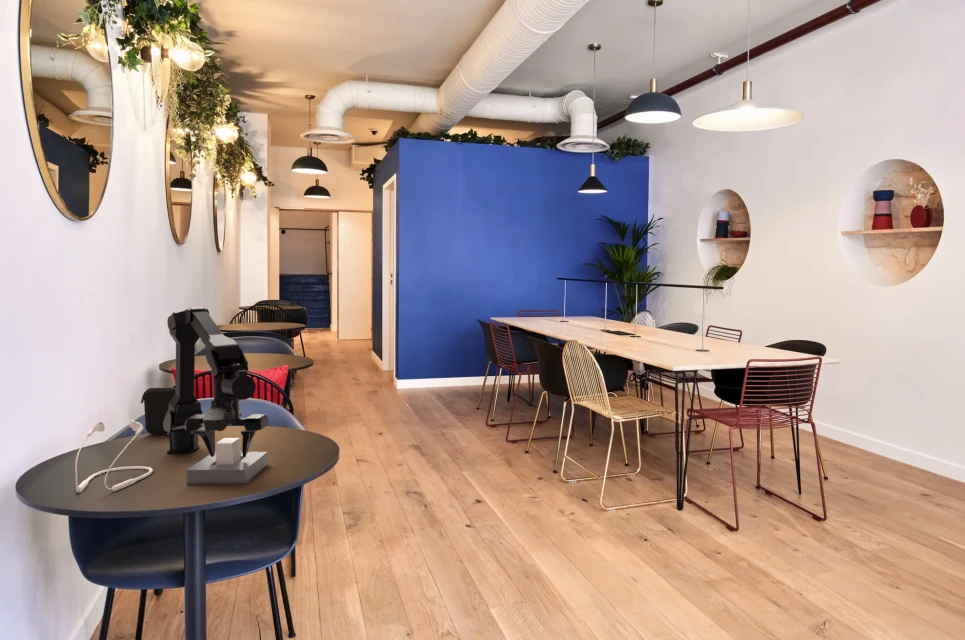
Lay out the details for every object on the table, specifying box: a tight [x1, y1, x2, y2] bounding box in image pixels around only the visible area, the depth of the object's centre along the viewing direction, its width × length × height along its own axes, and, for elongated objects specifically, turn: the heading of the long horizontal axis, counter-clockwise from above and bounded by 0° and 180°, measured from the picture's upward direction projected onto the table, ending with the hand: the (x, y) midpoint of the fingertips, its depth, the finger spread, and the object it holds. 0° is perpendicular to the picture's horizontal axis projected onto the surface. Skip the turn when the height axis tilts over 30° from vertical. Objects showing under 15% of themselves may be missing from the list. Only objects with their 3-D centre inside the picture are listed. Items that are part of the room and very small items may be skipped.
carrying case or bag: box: [140, 386, 175, 435], centre depth 197 cm, size 11×3×15 cm, turn 96°
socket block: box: [185, 451, 269, 485], centre depth 157 cm, size 14×15×4 cm
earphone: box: [74, 419, 154, 493], centre depth 154 cm, size 14×17×18 cm
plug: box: [215, 437, 242, 465], centre depth 158 cm, size 4×6×8 cm, turn 179°
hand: (228, 456), depth 157 cm, fingers open, 8 cm apart
